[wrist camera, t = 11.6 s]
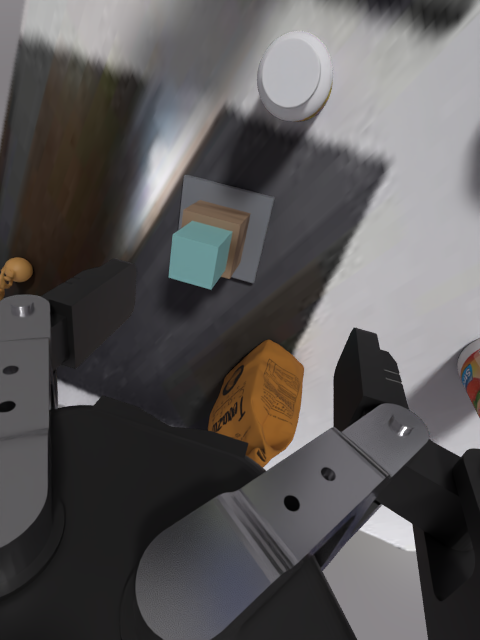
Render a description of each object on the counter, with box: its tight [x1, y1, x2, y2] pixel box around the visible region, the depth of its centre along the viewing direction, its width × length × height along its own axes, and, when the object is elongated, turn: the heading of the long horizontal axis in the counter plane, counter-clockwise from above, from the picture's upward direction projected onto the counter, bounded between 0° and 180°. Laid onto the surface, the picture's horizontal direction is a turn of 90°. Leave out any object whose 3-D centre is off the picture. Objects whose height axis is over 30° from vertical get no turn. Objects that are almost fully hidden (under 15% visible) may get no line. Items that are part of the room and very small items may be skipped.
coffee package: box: [208, 340, 304, 468], centre depth 49 cm, size 10×12×22 cm
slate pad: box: [178, 175, 275, 283], centre depth 49 cm, size 12×12×1 cm
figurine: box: [0, 257, 33, 301], centre depth 55 cm, size 8×6×12 cm
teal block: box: [169, 221, 232, 290], centre depth 40 cm, size 5×5×6 cm
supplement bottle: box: [257, 31, 333, 121], centre depth 34 cm, size 7×7×13 cm
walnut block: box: [181, 200, 251, 279], centre depth 46 cm, size 7×7×6 cm
